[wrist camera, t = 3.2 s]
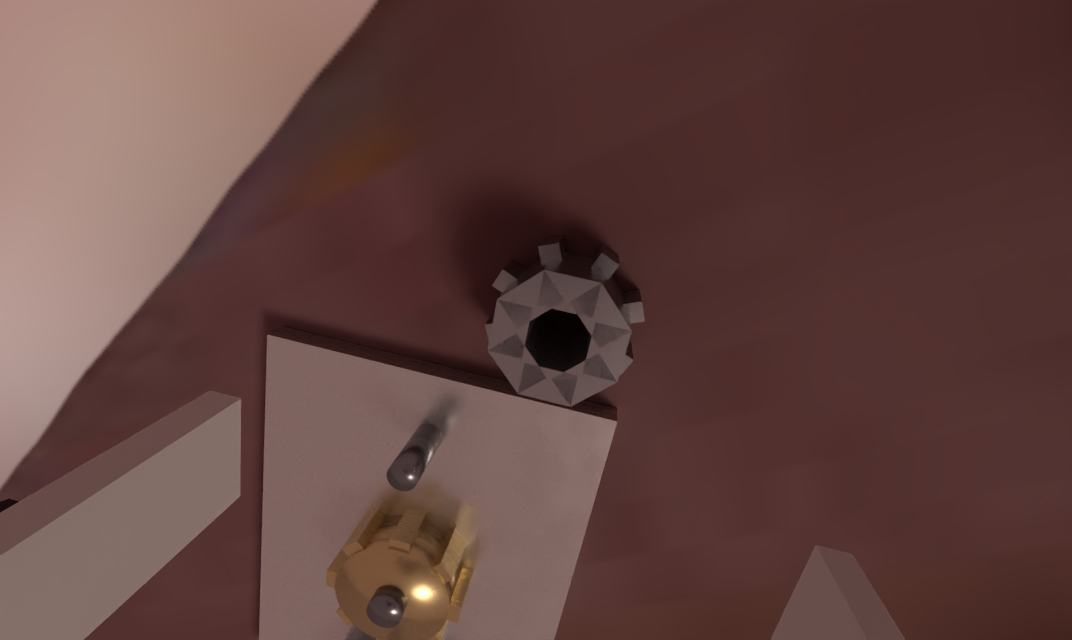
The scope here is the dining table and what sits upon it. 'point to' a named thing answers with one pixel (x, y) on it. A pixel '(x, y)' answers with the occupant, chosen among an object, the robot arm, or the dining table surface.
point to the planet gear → (554, 358)
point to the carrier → (417, 497)
